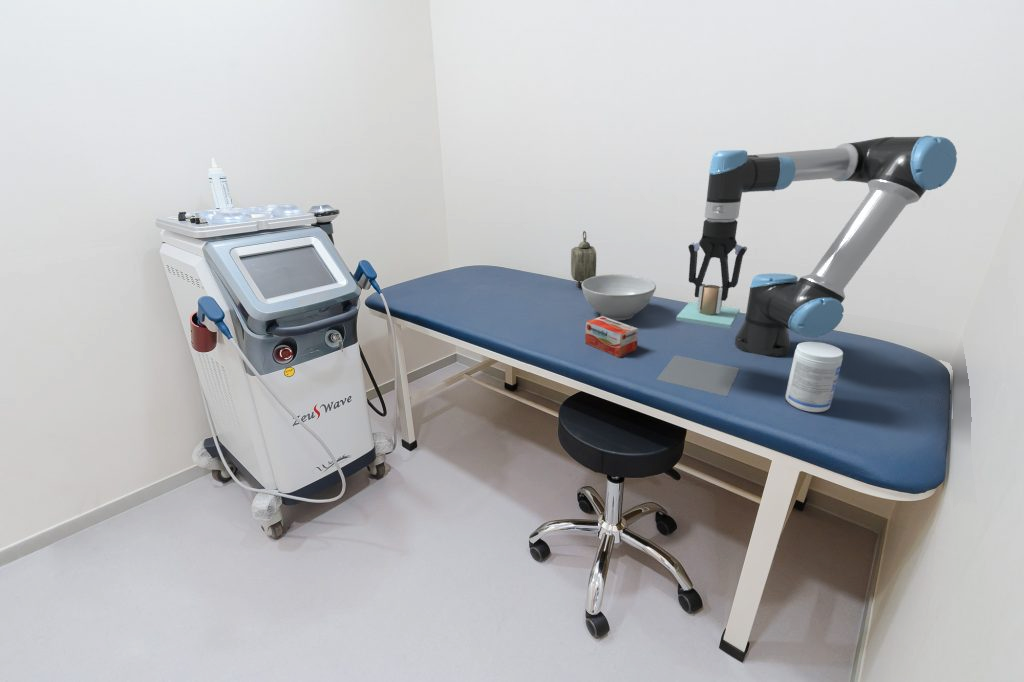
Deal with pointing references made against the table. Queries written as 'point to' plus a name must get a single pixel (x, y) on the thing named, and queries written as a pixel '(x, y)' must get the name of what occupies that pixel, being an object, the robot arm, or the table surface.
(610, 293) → the decorative bowl
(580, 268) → the grey hanging weight
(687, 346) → the table surface
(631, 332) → the medicine box
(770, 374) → the table surface
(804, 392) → the supplement tub
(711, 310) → the lid
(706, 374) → the mat
